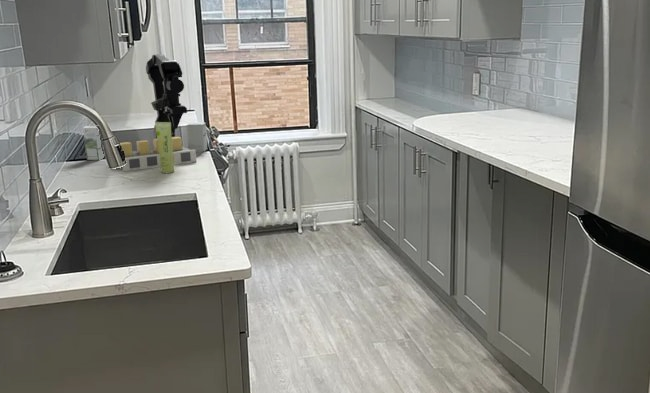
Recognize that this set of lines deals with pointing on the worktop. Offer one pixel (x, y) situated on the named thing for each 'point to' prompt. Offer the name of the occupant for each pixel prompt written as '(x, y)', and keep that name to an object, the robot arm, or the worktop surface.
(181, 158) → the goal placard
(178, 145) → the button
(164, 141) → the tube
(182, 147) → the button board
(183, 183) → the worktop surface
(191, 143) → the supplement box
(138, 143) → the button
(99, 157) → the syrup box
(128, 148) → the button
